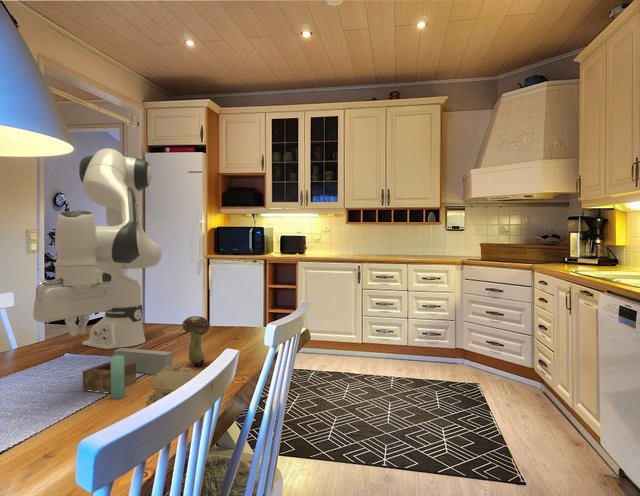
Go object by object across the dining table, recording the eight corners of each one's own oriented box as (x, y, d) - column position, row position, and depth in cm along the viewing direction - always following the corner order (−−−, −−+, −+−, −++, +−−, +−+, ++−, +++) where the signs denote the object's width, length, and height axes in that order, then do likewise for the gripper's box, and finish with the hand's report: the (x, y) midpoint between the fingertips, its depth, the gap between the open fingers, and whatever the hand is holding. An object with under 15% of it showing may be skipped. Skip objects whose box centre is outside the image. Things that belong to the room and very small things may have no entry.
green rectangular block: (108, 398, 102) (107, 358, 101) (117, 394, 104) (117, 354, 104) (118, 400, 101) (117, 359, 100) (127, 395, 104) (126, 355, 103)
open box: (82, 390, 107) (82, 371, 107) (112, 378, 117) (112, 360, 116) (107, 393, 105) (107, 374, 105) (136, 380, 114) (135, 362, 114)
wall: (114, 370, 124) (114, 350, 124) (121, 367, 127) (121, 347, 126) (165, 375, 119) (165, 354, 118) (172, 372, 121) (172, 352, 121)
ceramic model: (215, 400, 101) (215, 359, 101) (192, 419, 90) (192, 373, 90) (162, 396, 104) (162, 356, 103) (134, 414, 93) (133, 369, 92)
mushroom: (188, 361, 133) (187, 314, 133) (215, 361, 133) (214, 314, 132) (177, 370, 124) (176, 320, 123) (206, 370, 123) (205, 320, 123)
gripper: (47, 281, 90) (48, 345, 90) (118, 274, 109) (119, 327, 109) (25, 280, 91) (26, 343, 91) (99, 274, 111) (100, 325, 111)
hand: (77, 334), depth 101 cm, fingers closed
